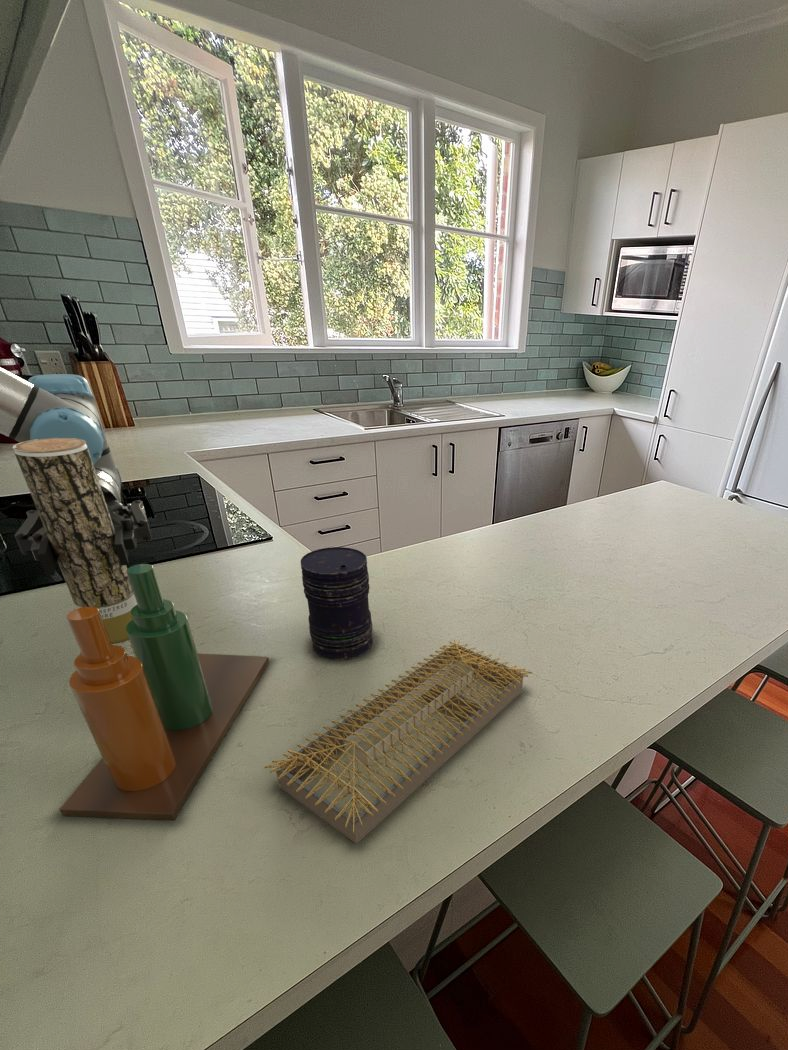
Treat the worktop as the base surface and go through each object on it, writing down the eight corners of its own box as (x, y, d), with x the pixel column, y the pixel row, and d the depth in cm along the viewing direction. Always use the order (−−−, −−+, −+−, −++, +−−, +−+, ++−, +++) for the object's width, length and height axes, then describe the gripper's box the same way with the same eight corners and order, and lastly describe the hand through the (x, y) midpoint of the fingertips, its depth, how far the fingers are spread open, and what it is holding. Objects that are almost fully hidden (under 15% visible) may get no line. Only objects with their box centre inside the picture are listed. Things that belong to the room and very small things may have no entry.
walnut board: (62, 815, 58) (58, 809, 58) (191, 658, 83) (189, 652, 83) (174, 820, 58) (172, 814, 58) (269, 661, 84) (268, 656, 83)
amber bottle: (101, 790, 60) (24, 629, 49) (133, 749, 65) (70, 595, 54) (159, 792, 60) (95, 632, 49) (186, 751, 66) (134, 598, 54)
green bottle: (148, 729, 68) (92, 579, 57) (173, 697, 74) (126, 555, 63) (199, 731, 69) (153, 582, 57) (220, 699, 74) (182, 558, 63)
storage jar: (301, 639, 89) (288, 555, 81) (354, 622, 95) (347, 542, 87) (329, 668, 83) (318, 580, 75) (384, 647, 88) (380, 563, 80)
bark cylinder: (154, 633, 75) (95, 446, 61) (99, 652, 70) (22, 455, 57) (134, 615, 78) (74, 435, 65) (81, 632, 74) (4, 442, 60)
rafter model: (453, 656, 87) (454, 623, 84) (530, 691, 80) (534, 657, 77) (268, 788, 63) (259, 749, 59) (356, 854, 56) (351, 814, 53)
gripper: (171, 517, 87) (185, 574, 70) (18, 534, 78) (-8, 604, 61) (159, 469, 83) (170, 518, 66) (-4, 481, 74) (-39, 542, 57)
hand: (84, 559), depth 64 cm, fingers closed on bark cylinder, 7 cm apart
